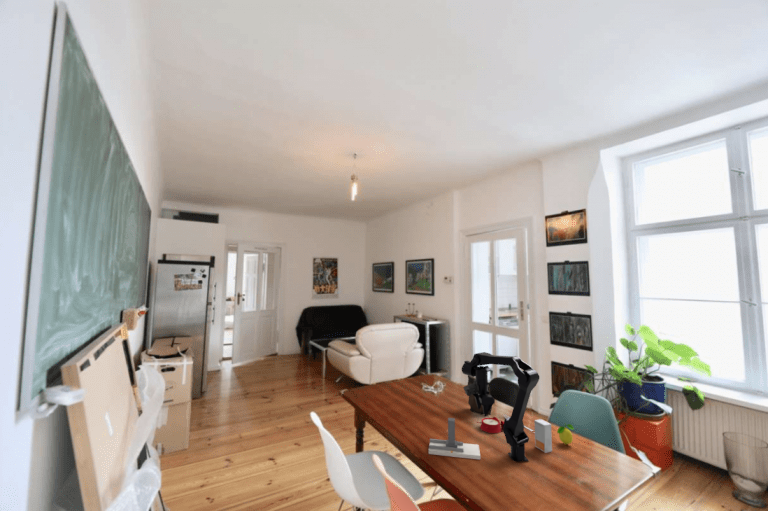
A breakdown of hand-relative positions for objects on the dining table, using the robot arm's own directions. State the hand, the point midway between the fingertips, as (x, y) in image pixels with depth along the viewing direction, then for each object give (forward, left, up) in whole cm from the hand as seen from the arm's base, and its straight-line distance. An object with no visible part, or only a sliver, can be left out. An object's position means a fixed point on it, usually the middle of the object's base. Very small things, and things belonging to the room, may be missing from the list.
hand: (482, 412), depth 159 cm
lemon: (-5, -38, -13) cm, 41 cm away
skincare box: (-9, -25, -13) cm, 30 cm away
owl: (+36, -12, -13) cm, 40 cm away
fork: (+16, -26, -14) cm, 34 cm away
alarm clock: (+13, -10, -14) cm, 21 cm away
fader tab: (-9, +17, -11) cm, 23 cm away
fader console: (-9, +16, -13) cm, 23 cm away
